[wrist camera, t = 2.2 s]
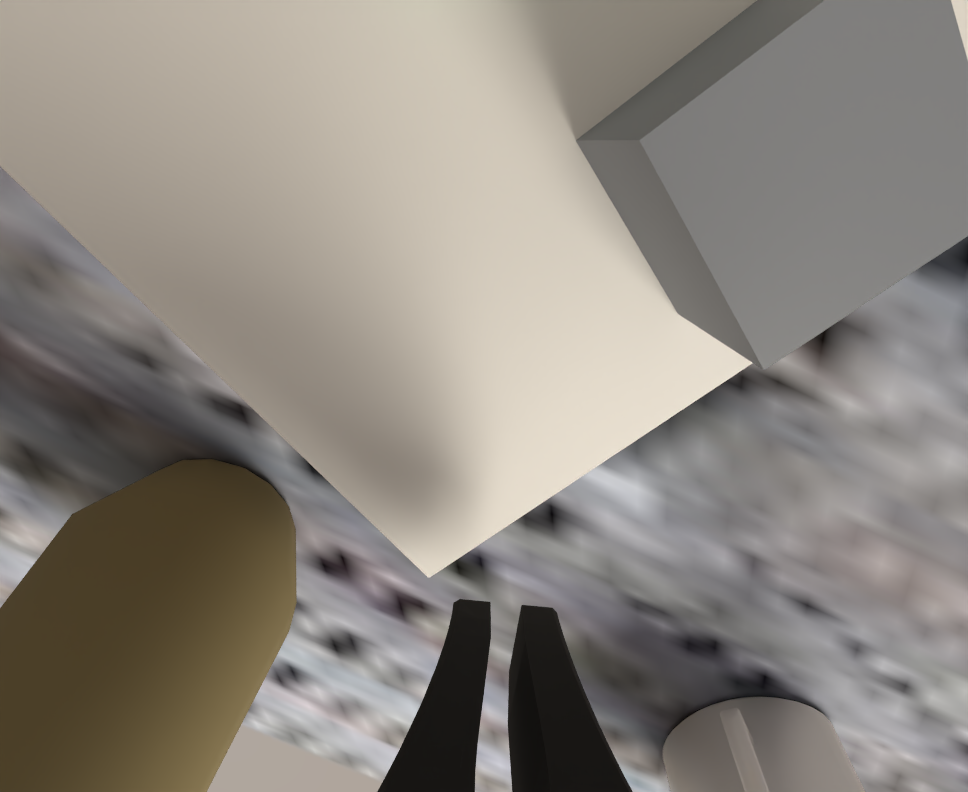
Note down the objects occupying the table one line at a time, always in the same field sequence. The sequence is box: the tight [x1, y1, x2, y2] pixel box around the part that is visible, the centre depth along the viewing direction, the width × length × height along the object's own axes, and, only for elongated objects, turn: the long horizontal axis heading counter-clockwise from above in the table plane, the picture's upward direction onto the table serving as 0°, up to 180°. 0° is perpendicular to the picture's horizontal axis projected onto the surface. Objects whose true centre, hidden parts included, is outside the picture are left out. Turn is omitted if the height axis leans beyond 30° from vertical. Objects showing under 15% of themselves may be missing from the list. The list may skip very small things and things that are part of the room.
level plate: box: [0, 0, 968, 578], centre depth 9 cm, size 13×20×4 cm, turn 126°
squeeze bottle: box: [0, 459, 296, 792], centre depth 15 cm, size 8×8×18 cm
